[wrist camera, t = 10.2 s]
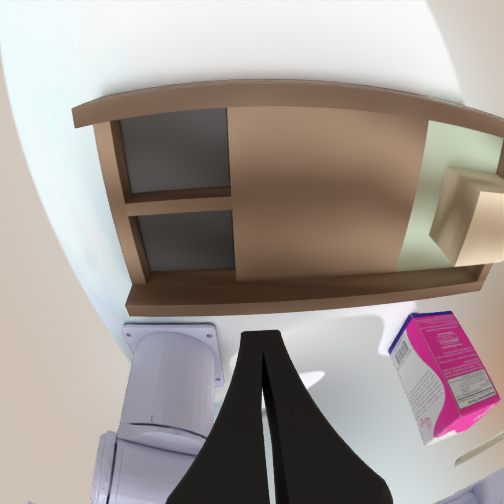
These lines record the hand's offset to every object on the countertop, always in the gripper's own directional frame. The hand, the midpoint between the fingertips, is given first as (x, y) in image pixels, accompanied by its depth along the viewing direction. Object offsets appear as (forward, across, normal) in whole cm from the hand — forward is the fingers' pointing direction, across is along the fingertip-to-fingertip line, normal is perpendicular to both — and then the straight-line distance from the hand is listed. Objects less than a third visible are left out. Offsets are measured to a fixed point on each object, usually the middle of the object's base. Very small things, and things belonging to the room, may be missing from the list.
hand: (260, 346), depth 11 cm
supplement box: (+10, -17, +13) cm, 23 cm away
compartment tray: (+9, -5, -2) cm, 11 cm away
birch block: (+8, -14, -2) cm, 17 cm away
